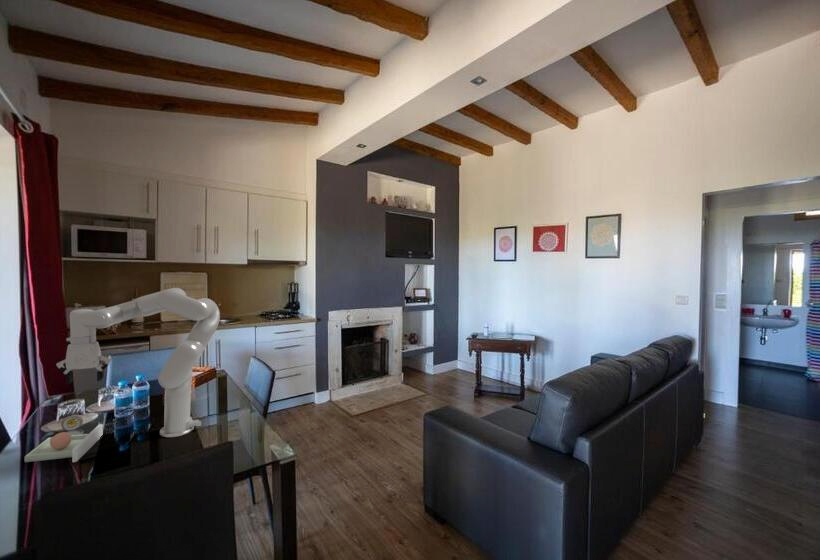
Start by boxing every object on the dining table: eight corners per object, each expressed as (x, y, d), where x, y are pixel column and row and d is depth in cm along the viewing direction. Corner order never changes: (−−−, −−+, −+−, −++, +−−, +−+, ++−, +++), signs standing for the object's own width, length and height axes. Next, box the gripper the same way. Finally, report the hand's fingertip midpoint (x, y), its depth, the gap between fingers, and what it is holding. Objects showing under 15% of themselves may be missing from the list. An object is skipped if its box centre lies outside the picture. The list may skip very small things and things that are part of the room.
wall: (102, 435, 148) (102, 424, 148) (76, 461, 130) (76, 448, 129) (99, 436, 148) (99, 424, 148) (72, 462, 129) (72, 449, 129)
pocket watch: (69, 440, 143) (69, 416, 143) (53, 437, 145) (53, 413, 144) (91, 431, 151) (91, 408, 151) (76, 428, 153) (76, 405, 152)
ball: (66, 451, 135) (66, 436, 135) (46, 453, 133) (46, 437, 133) (75, 443, 140) (75, 428, 140) (55, 445, 138) (55, 430, 138)
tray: (92, 438, 146) (92, 433, 146) (73, 457, 132) (73, 451, 132) (48, 442, 141) (48, 437, 141) (24, 462, 128) (24, 456, 128)
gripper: (50, 343, 136) (52, 387, 137) (106, 340, 143) (107, 382, 144) (61, 339, 143) (62, 380, 144) (113, 336, 150) (115, 376, 151)
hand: (85, 381), depth 144 cm, fingers open, 9 cm apart
